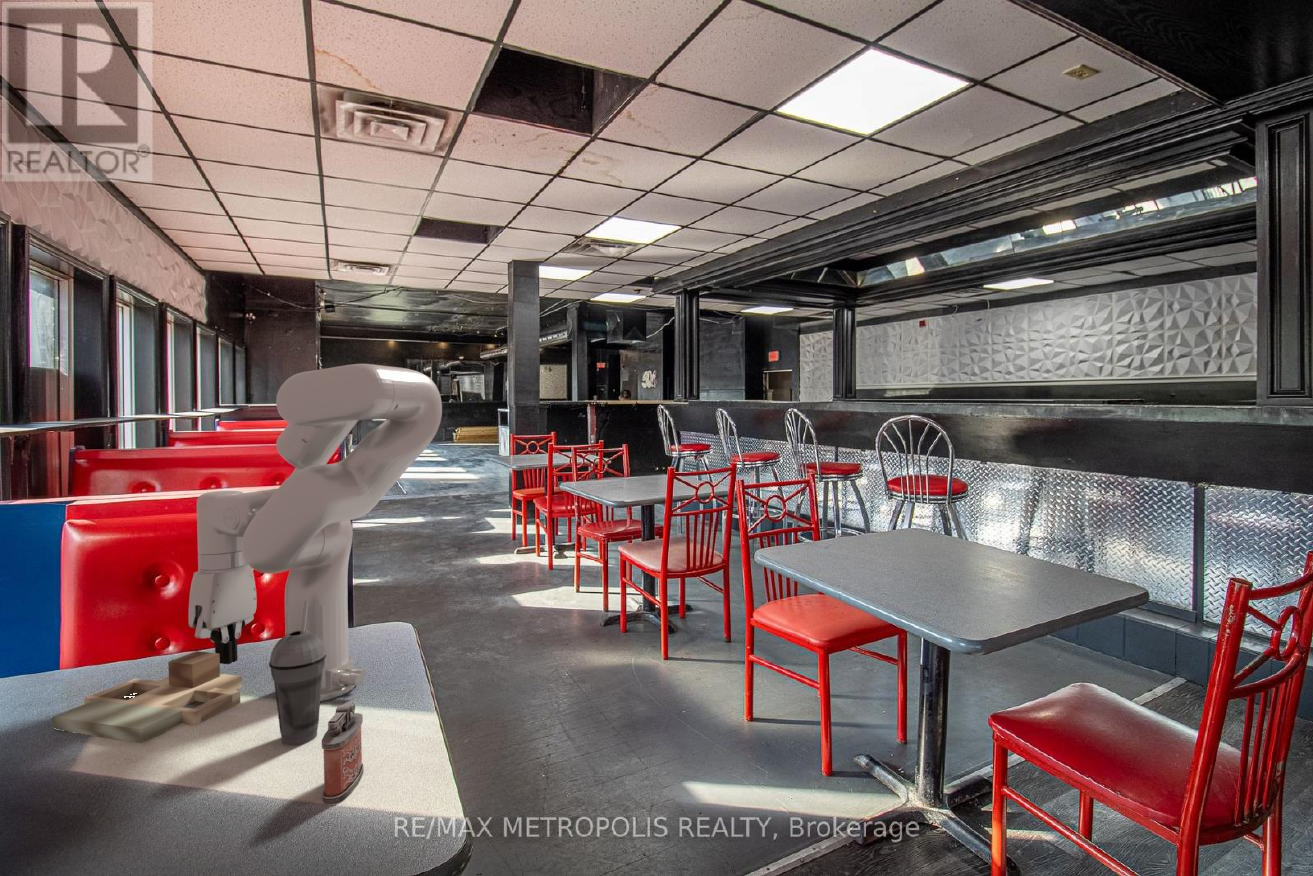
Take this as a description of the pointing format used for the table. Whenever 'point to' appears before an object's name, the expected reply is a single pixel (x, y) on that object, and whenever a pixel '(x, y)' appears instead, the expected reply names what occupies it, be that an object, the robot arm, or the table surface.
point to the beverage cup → (298, 683)
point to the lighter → (342, 754)
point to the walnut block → (194, 669)
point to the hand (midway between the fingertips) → (226, 662)
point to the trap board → (149, 708)
